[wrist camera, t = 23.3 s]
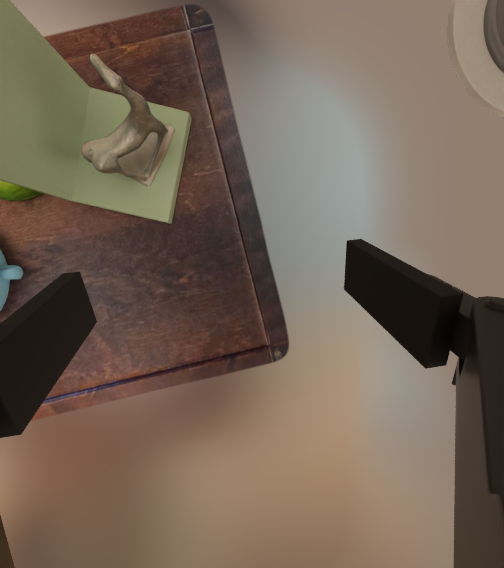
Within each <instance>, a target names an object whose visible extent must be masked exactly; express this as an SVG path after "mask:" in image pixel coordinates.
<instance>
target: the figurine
mask: <svg viewBox="0 0 504 568" xmlns="http://www.w3.org/2000/svg"><path fill="white" fill-rule="evenodd" d="M90 62H91V64H92V65H93V66H94V67H95V68H96V69H97V71H98V72H99V73H100V75H101V76H102V78H103V79H104V81H105V82H106V84H107V85H108V86H109V88H110V89H111V90H112V91H115V92H118V93H119V94H121V95H123V96H124V97H125V98H126V99H127V101H128V102H129V104H130V112H129V114H128V115H127V117H126V118H125V119H124V121H123V122H122V123H121V124H120V125H119V126H118V127H117V128H116V129H115V130H114V131H113V132H112V133H111V134H109V135H108V136H106V137H103V138H100V139H94V140H90V141H86V142H84V143H83V144H82V145H81V154H82V156H83V157H84V158H85V159H86V160H87V161H88V162H90V163H93V166H94V168H95V169H96V170H98V171H99V172H102V173H108V174H110V173H120V174H123V175H124V176H126V177H130V178H132V179H134V180H136V181H138V182H140V183H142V184H144V185H146V186H151V184H152V182H153V180H154V178H155V176H156V174H157V172H158V170H159V168H160V166H161V164H162V162H163V160H164V158H165V155H166V153H167V151H168V148H169V145H170V143H171V140H172V137H173V134H174V132H175V128H174V127H173V126H172V125H170V124H167V125H164V124H163V123H162V122H161V121H159V120H158V119H157V118H155V117H154V115H153V114H152V113H151V111H150V108H149V105H148V103H147V102H146V100H145V99H144V98H143V97H142V96H141V95H140V94H138V93H136V92H134V91H133V90H131V89H130V88H128V87H127V86H126V85H125V84H124V83H123V80H122V78H121V77H120V76H119V75H117V74H116V73H115V72H114V71H112V70H111V69H110V68H108V67H107V66H106V65H105V64H104V63H103V62H102V61H101V59H100V58H99V57H98V56H97V55H96V54H91V55H90Z"/></svg>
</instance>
